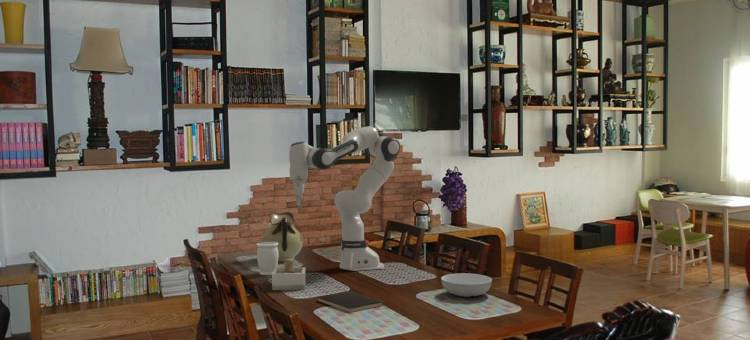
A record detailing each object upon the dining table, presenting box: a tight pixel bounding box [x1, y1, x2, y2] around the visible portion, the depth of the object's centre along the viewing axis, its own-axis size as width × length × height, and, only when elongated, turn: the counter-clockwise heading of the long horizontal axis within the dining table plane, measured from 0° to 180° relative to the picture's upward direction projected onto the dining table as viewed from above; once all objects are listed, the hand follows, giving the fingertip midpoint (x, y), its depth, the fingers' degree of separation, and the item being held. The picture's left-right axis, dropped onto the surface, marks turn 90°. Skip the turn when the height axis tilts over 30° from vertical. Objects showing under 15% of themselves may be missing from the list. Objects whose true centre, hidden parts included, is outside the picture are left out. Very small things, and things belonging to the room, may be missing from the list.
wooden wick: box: [283, 259, 295, 273], centre depth 292 cm, size 4×2×10 cm, turn 94°
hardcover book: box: [316, 290, 384, 313], centre depth 261 cm, size 16×23×2 cm
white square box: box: [271, 266, 307, 291], centre depth 292 cm, size 14×14×7 cm
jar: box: [256, 242, 279, 276], centre depth 319 cm, size 11×10×15 cm
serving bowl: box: [440, 272, 493, 298], centre depth 273 cm, size 21×21×7 cm
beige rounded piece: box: [260, 211, 304, 263], centre depth 355 cm, size 22×24×25 cm
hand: (299, 204), depth 315 cm, fingers open, 8 cm apart
